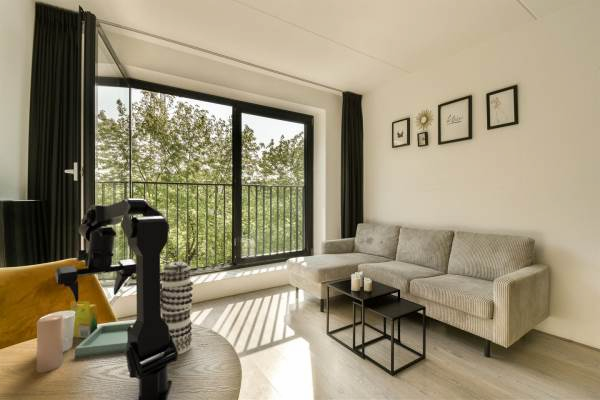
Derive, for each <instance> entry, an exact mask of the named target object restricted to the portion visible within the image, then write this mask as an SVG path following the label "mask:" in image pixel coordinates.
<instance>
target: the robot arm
mask: <svg viewBox="0 0 600 400" xmlns="http://www.w3.org/2000/svg"><path fill="white" fill-rule="evenodd" d="M139 215H141V216H139ZM80 222H81V224H80V225H79V226H78V233H79V234H80V236H81V237H83V238H84V239H85V240H86V241H88V242H89V246H88V251H87V250H86V249H79V250H77V251H76V261H77V262H83V261H84V266H85V267H86V268H78V269H77V268H76V266H75V265H67V266H58V267H57V268H56V269H55V275H54V277H55V281H56V283H57V285H63V286H64V288H65V287H69V288H70V291H71V292H72V294H73V297H74V301H76V302H78V301H79V299H80V297H79V294H80V293H79V282H78V277H83V276H84V277H85V276H90V275H97V274H105V273H106V274H107V273H112V272H116V275H115V280H114V281H115V282H114V286H113V295H114V296H117V294H118V292H119V291H120V289H121V288H122V286H123V285H124V284H125V282H126V281H127V280H128V278H130V277H132V276H133V275H136V278H135V279H136V280H135V281H136V285H135V286H136V288H135V289H136V319H135V321H134V322H135V323H134V325H131V326H129V327H128V330H127V335H128V341H127V346H126V350H125V351H126V352H124V353H125V357H126V363H127V369H128V372H129V378H130V379H133V378H134V379H135V378H136V379H137V380H138V392H137V394H136V396H135V398H134V400H167V399H168V395H169V393H170V390H171V386H172V384H173V381H172V380H168V379H169V378H168V374H169V372H168V371H169V369H168V368H169V366H168V365H169V364H171V363H173V362H176V361H178V352H177V349H176V347H175V345H174V342H173V340H172V338H171V335H170V333H169V327H168V325H167V324H166V322H165V321H164V320H163V319H162V314H161V313H162V312H161V293H160V291H161V289H160V284H161V253H162V252H163V250H164V249H165V247H166V245H167V243H168V240H169V239H168V238H169V232H170V224H169V221H168V220H167V219H166V217H165V216H164V214H163V213H162V211H160V210H158V209H157V208H156V207H153V206H151V205H150V204H149V202H148V200H147V199H144V198H125V199H122V200H121V201H118V202H115V203H111V204H102V205H101V204H98V205H97V204H92V205H90V207H89V209H87V210H86V213H85V214H84V216H82V218H81V220H80ZM118 224H120V227H121V229H122V230H123V232H124V235H125V237H126V239H127V240H126V242H127V245H128V247H129V248H130V249H131V250H132V252H133V253H134V255H135V261H134V260H133V259H132V258H129V259H121V260H120V259H119V260H118V261H117V264H113V257H114V245H115V237H116V236H117V232H116V231H115V230H114V228H113V227H112V226H115V225H118ZM162 352H164V353H163V354H162Z"/></svg>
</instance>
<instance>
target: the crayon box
mask: <svg viewBox="0 0 600 400" xmlns="http://www.w3.org/2000/svg"><path fill="white" fill-rule="evenodd" d="M70 311H75V326H74V336H73V338H82V339H83V338H84V339H86V338H87V337H88V336H89V335H91V334H92V333H93V332H94V331H95V330H96V329H97V328H98V304H92V303H91V301H84V300H83V301H82V300H80V301H79V300H78V302H76V301H75V300H71V301H70Z"/></svg>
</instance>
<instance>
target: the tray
mask: <svg viewBox="0 0 600 400" xmlns="http://www.w3.org/2000/svg"><path fill="white" fill-rule="evenodd" d="M134 323H135V321H132V322H130V321H129V322H122V323H110V324H102V325H99V326H97V329H96V330H95V331H94V332H93V333H92V334H91V335H89V336H88V337H87V338H84V340H83V341H82V342H80V343H79V344H78V345H77V346H76V347H75V348H74V359H78V358H85V357H94V356H100V355H101V356H103V355H109V354H118V353H126V351H125V350H126V346H127V341H128V335H127V330H128V327H129V326H131V325H134Z"/></svg>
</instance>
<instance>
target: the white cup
mask: <svg viewBox="0 0 600 400" xmlns="http://www.w3.org/2000/svg"><path fill="white" fill-rule="evenodd" d="M54 315H62V316H63V353H65V352H67V351H68V350H71V349H72V348H73V339H74V337H73V336H74V326H75V311H71V310H61V311H56V312H52V313H49V314H46V315H44V316H42V317H40V318H39V320H40V319H42V318H45V317H49V316H54Z"/></svg>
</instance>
